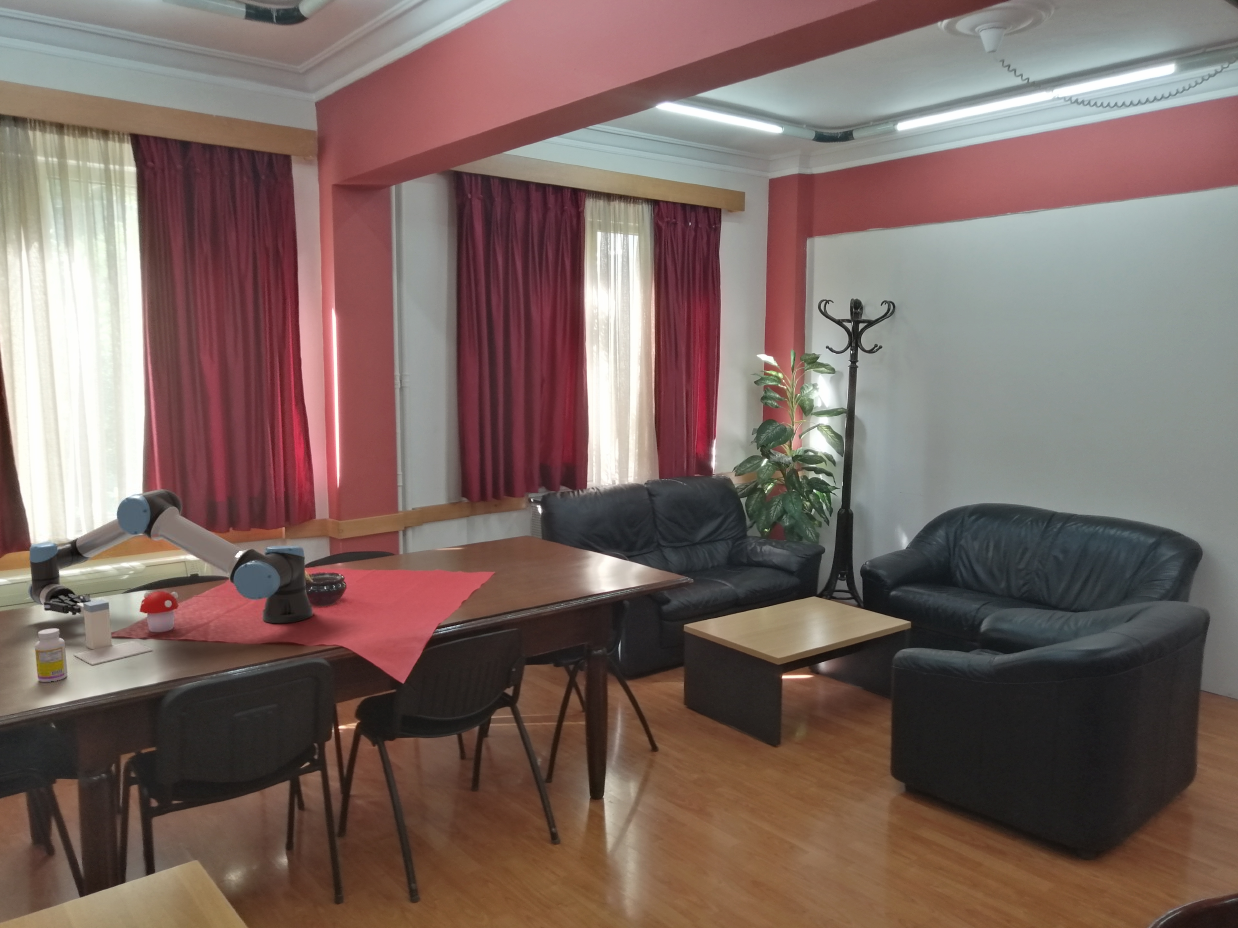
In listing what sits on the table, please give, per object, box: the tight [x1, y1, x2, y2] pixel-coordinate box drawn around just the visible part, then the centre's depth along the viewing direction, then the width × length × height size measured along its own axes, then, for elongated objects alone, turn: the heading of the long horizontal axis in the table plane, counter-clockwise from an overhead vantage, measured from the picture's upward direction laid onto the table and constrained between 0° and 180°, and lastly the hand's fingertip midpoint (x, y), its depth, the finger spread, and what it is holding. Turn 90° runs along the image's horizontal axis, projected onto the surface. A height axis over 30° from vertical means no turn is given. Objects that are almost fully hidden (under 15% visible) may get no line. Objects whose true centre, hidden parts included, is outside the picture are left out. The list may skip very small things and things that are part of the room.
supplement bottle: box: [34, 628, 68, 683], centre depth 241 cm, size 7×7×13 cm
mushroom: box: [139, 590, 179, 633], centre depth 284 cm, size 11×11×12 cm
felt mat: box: [73, 640, 153, 666], centre depth 262 cm, size 13×16×1 cm
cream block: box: [83, 598, 113, 650], centre depth 268 cm, size 5×5×13 cm
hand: (87, 611), depth 271 cm, fingers closed
